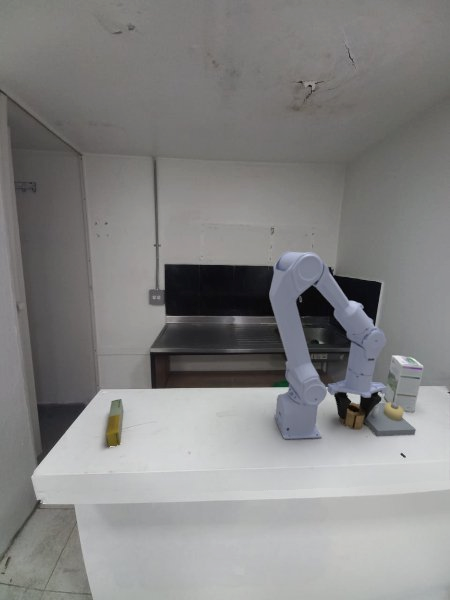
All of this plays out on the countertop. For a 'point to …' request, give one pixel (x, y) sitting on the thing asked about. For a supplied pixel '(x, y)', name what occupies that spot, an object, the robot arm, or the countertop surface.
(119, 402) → the medication box
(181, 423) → the countertop surface
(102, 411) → the countertop surface
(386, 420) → the carrier plate
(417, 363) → the syrup box
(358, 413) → the brown segmented ring
